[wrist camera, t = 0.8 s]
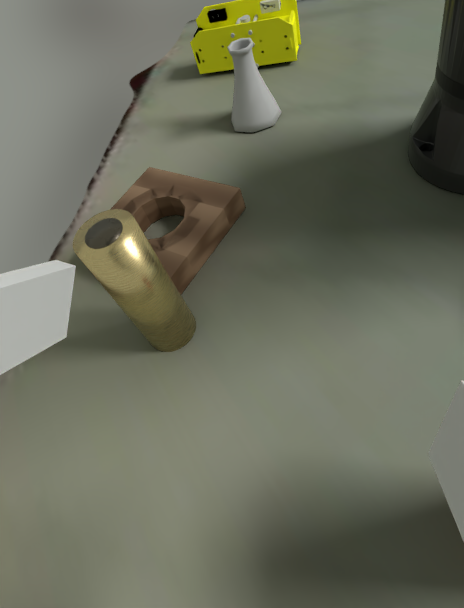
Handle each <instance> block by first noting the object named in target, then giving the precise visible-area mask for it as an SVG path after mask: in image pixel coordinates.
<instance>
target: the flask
mask: <svg viewBox="0 0 464 608" xmlns="http://www.w3.org/2000/svg"><path fill="white" fill-rule="evenodd" d="M252 47H253V41H252V40H251V38H240V39H238V40H235V41H232V42H231V43H230V45H229V46H228V47H227V48H228V51H229V53H230V55H231V56H232V59H233V63H234V76H235V80H234V95H233V106H232V116H231V122H232V124H233V127H234V130H235V131H237V132H256V131H259V130H262V129H265V128H267V127H270V126H273V125H274V124H275V123H276V121H277V119H278V118H279V116H280V114H281V113H282V112H281V110H280V108H279V106H278V104H277V103H276V101H275V99H274V97H273V96H272V94H271V92H270V91H269V89H268V87H267V86H266V84H265V82H264V81H263V79H262V77H261V75H260V73H259V71H258V69H257V66H256V63H255V61H254V57H253V53H252Z"/></svg>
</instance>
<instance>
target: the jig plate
mask: <svg viewBox="0 0 464 608" xmlns="http://www.w3.org/2000/svg"><path fill="white" fill-rule="evenodd" d="M245 208H246V207H245V203H244V200H243V197H242V193H241V190H240V188H238V187H233V186H229V185H225V184H220V183H216V182H212V181H207V180H203V179H199V178H194V177H190V176H186V175H181V174H177V173H173V172H168V171H164V170H160V169H155V168H151V167H149V168H148V169H147V170H146V171H145V172H144V173H143V174H142V175H141V177H140V178H139V179H138V180H137V181H136V182H135V183H134V184H133V185H132V186H131V187H130V189H129V190H128V191H127V192H126V193H125V194H124V195H123V196H122V197H121V198H120V199H119V201H118V202H117V203H116V204H115V205H114V206H113V207H112V208H111V209H110V210H113V209H121V210H125V211H128V212H129V213H131V214H132V215H133V217H134V218H135V220H136V222H137V223H138V225H139V227H140V228H141V230H142V232H143V233H144V232H145V231H146V229H147V228H148V227H149V226H150V225H151V224H152V223H154V222H155V221H157V220H159V219H161V218H163V217H166V216H172V215H180V216H183V217H184V219H183V220H182V221H181V222H180V224H179V225H178V226H177V227H176V229H175V230H173V231H171V232H170V233H168V234H166V235H164V236H163V237H161V238H155V239H148V242H149V243H150V245H151V247H152V248H153V250H154V251H155V253H156V255H157V256H158V258H159V260H160V261H161V263H162V265H163V266H164V268H165V270H166V271H167V273H168V275H169V276H170V278H171V280H172V281H173V283H174V285H175V286H176V288H177V290H178V291H179V293H180V295H181V294H182V293H183V291H184V290H185V289H186V287H187V286H188V285H189V283H190V282H191V281H192V279H193V278H194V277H195V275H196V274H197V273H198V271H199V270H200V269H201V267H202V266H203V265H204V263H205V262H206V261H207V259H208V258H209V257H210V255H211V254H212V253H213V251H214V250H215V248H216V247H217V246H218V244H219V243H220V242H221V240H222V239H223V238H224V236H225V235H226V234H227V232H228V231H229V230H230V228H231V227H232V226H233V224H234V223H235V222H236V220H237V219H238V218H239V216H240V215H241V214H242V212H243V211H244V210H245Z"/></svg>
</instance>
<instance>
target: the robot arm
mask: <svg viewBox="0 0 464 608" xmlns="http://www.w3.org/2000/svg"><path fill="white" fill-rule="evenodd" d="M408 156H409V160H410V162H411V164H412V166H413V168H414V169H415V170H416V172H417V173H418V174H419V175H420V176H422V177H423V178H424V179H426V180H427V181H429V182H430V183H432V184H434V185H436V186H438V187H441V188H443V189H446V190H449V191H453V192H457V193H462V194H464V0H445V7H444V14H443V22H442V30H441V37H440V45H439V52H438V60H437V67H436V74H435V79H434V81H433V84H432V86H431V88H430V90H429V92H428V94H427V96H426V98H425V100H424V102H423V104H422V106H421V108H420V110H419V112H418V114H417V116H416V118H415V120H414V122H413V125H412V128H411V131H410V138H409V147H408ZM75 268H76V266H75V265H72V264H68V263H65V262H62V261H58V260H54V261H50V262H46V263H42V264H38V265H34V266H30V267H26V268H22V269H18V270H14V271H10V272H6V273H3V274H0V375H1V374H3V373H4V372H6V371H8V370H10V369H11V368H13V367H15V366H17V365H19V364H20V363H22V362H24V361H26V360H27V359H29V358H31V357H33V356H34V355H36V354H38V353H40V352H41V351H43V350H45V349H47V348H49V347H50V346H52V345H54V344H56V343H57V342H59V341H61V340H63V339H64V338H66V337H67V329H68V322H69V314H70V306H71V299H72V291H73V283H74V276H75ZM428 456H429V458H430V461H431V463H432V465H433V468H434V470H435V473H436V475H437V478H438V480H439V483H440V485H441V488H442V490H443V492H444V495H445V497H446V500H447V502H448V505H449V507H450V510H451V512H452V515H453V517H454V519H455V522H456V524H457V527H458V529H459V532H460V534H461V537H462V539H463V542H464V381H462V380H461V381H460V383H459V385H458V388H457V390H456V392H455V394H454V397H453V399H452V401H451V403H450V405H449V408H448V410H447V412H446V414H445V417H444V419H443V421H442V423H441V425H440V428H439V430H438V432H437V434H436V437H435V439H434V441H433V443H432V445H431V448H430V450H429V452H428Z"/></svg>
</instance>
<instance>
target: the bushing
mask: <svg viewBox="0 0 464 608" xmlns="http://www.w3.org/2000/svg"><path fill="white" fill-rule="evenodd" d="M73 249H74V252H75V253H76V255H77V256H78V257H79V258H80V259H81V261H82V262H83V263H84V264H85V265H86V267H87V268H88V269H89V270H90V271H91V273H92V274H93V275H94V276H95V277H96V279H97V280H98V281H99V282H100V283H101V284H102V286H103V287H104V288H105V289H106V290H107V292H108V293H109V294H110V295H111V296H112V298H113V299H114V300H115V301H116V302H117V304H118V305H119V306H120V307H121V308H122V310H123V311H124V312H125V313H126V314H127V316H128V317H129V318H130V319H131V320H132V322H133V323H134V324H135V325H136V326H137V328H138V329H139V330H140V331H141V332H142V334H143V335H144V336H145V337H146V338H147V340H148V341H149V342H150V343H151V344H152V346H153V347H154V348H156V349H157V350H160V351H164V352H170V351H175V350H177V349H180V348H182V347H183V346H185V345H186V344H187V343H188V342H189V341H190V340H191V338H192V337H193V335H194V333H195V329H196V321H195V318H194V316H193V315H192V313H191V311H190V310H189V308H188V306H187V305H186V303H185V301H184V300H183V298H182V296H181V295H180V293H179V291H178V290H177V288H176V286H175V285H174V283H173V281H172V280H171V278H170V276H169V275H168V273H167V271H166V270H165V268H164V266H163V265H162V263H161V261H160V260H159V258H158V256H157V255H156V253H155V251H154V250H153V248H152V247H151V245H150V243H149V242H148V240H147V238H146V237H145V235H144V233H143V232H142V230H141V228H140V227H139V225H138V223H137V222H136V220H135V218H134V217H133V215H132V214H131V213H129V212H128V211H125V210H121V209H113V210H107V211H104V212H101V213H99V214H97V215H95V216H93V217H92V218H90V219H89V220H88V221H86V222H85V223H84V224H83V225H82V226H81V227H80V228H79V230H78V231H77V233H76V235H75V237H74V240H73Z"/></svg>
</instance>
